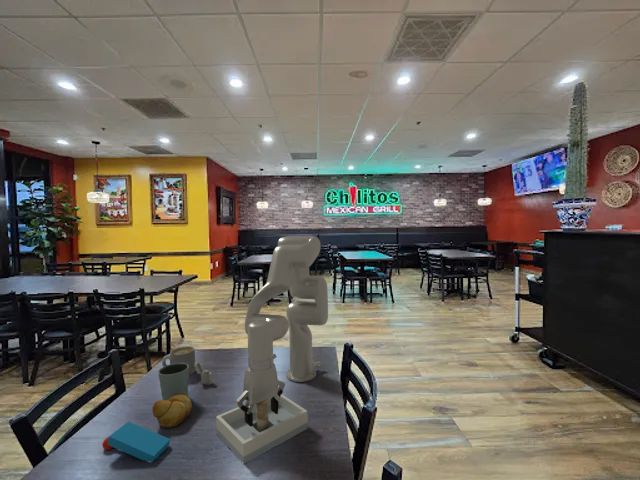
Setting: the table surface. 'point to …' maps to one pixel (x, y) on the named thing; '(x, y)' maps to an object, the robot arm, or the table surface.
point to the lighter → (204, 374)
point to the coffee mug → (182, 357)
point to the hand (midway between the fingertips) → (262, 417)
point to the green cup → (174, 380)
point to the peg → (262, 415)
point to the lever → (137, 442)
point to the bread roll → (172, 410)
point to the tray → (253, 443)
